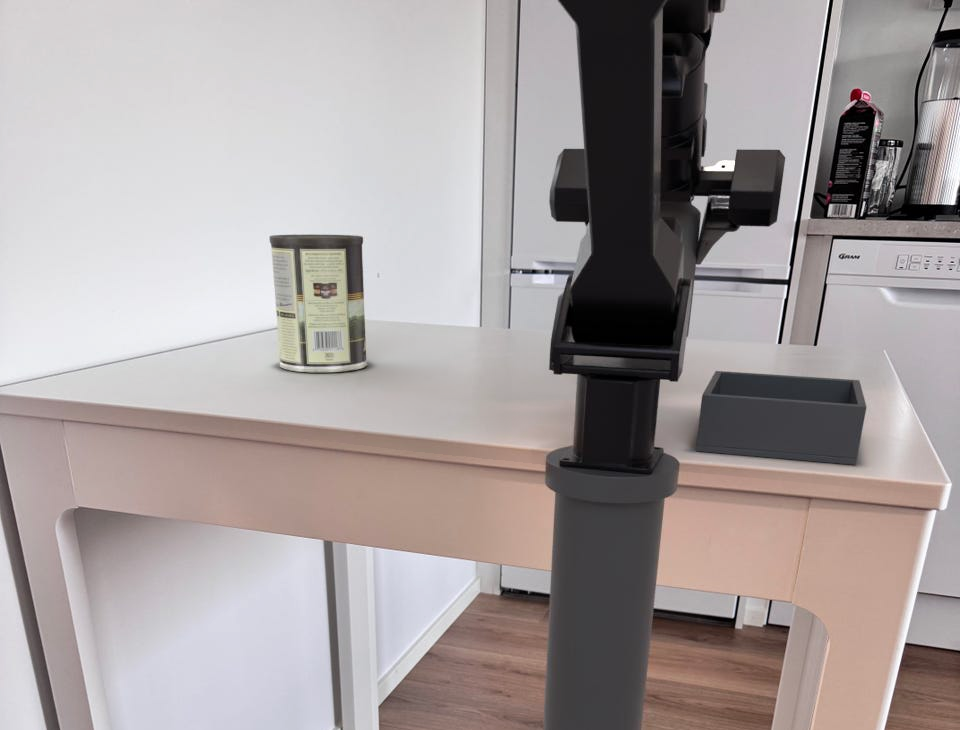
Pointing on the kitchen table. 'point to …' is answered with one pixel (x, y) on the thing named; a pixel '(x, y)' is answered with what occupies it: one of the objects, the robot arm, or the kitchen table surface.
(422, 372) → the kitchen table surface
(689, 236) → the bottle
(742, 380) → the open rectangular box
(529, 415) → the kitchen table surface
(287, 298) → the coffee can
